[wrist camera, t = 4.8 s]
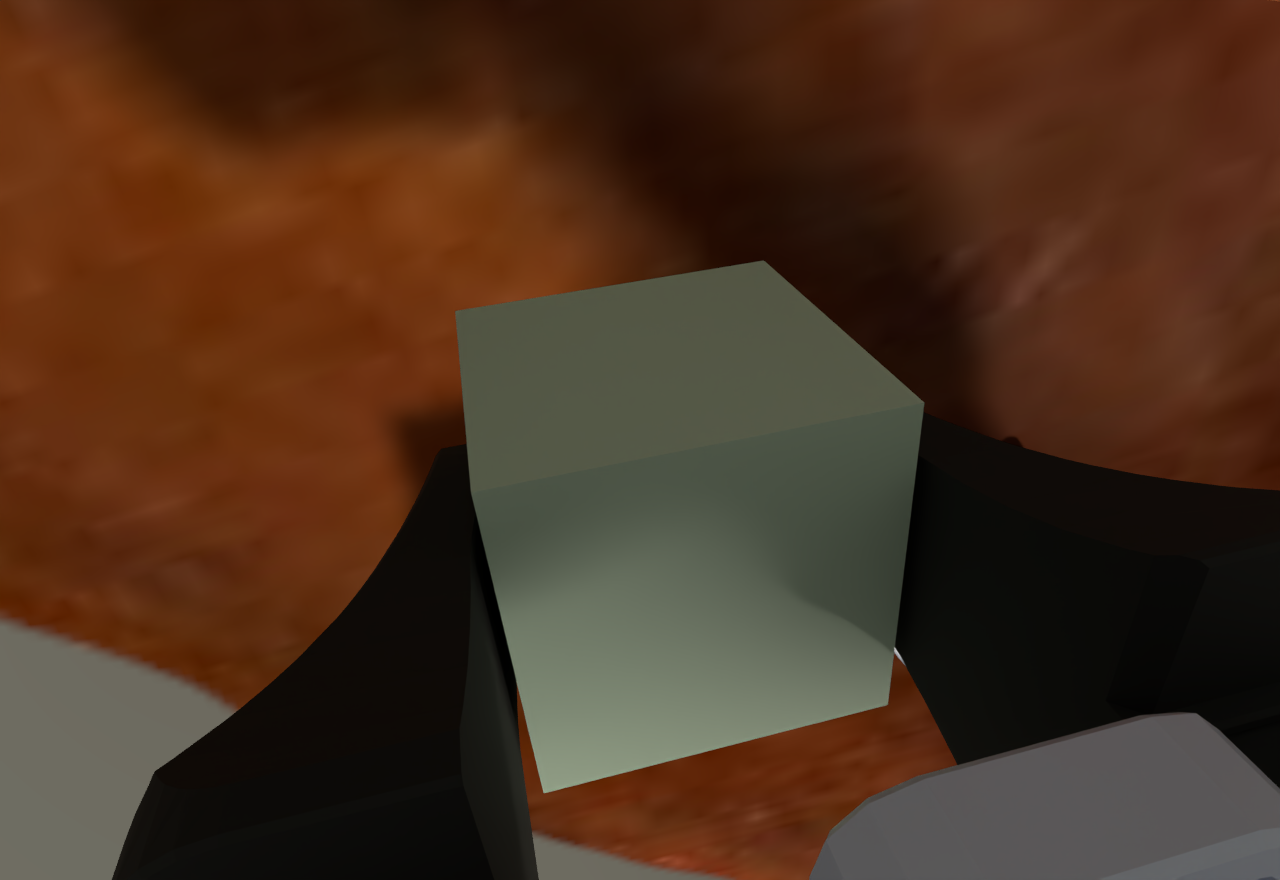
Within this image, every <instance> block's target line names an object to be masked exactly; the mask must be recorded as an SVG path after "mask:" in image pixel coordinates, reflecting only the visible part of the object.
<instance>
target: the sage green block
mask: <svg viewBox="0 0 1280 880" xmlns="http://www.w3.org/2000/svg"><path fill="white" fill-rule="evenodd" d="M455 313H456V324H457V336H458V347H459V359H460V371H461V382H462V394H463V406H464V417H465V429H466V440H467V452H468V464H469V475H470V487H471V495H472V499H473V503H474V507H475V511H476V515H477V519H478V524H479V528H480V532H481V536H482V540H483V544H484V548H485V552H486V557H487V561H488V565H489V569H490V573H491V577H492V581H493V586H494V590H495V594H496V598H497V602H498V606H499V610H500V614H501V619H502V623H503V627H504V631H505V635H506V639H507V643H508V648H509V652H510V656H511V660H512V664H513V668H514V672H515V676H516V681H517V685H518V689H519V693H520V697H521V701H522V705H523V710H524V714H525V718H526V722H527V726H528V730H529V734H530V738H531V743H532V747H533V751H534V755H535V759H536V763H537V767H538V771H539V776H540V780H541V784H542V788H543V792H544V793H547V792H551V791H555V790H558V789H562V788H566V787H570V786H574V785H578V784H582V783H586V782H589V781H593V780H597V779H601V778H605V777H609V776H613V775H617V774H621V773H624V772H628V771H632V770H636V769H640V768H644V767H648V766H652V765H656V764H659V763H663V762H667V761H671V760H675V759H679V758H683V757H687V756H691V755H694V754H698V753H702V752H706V751H710V750H714V749H718V748H722V747H725V746H729V745H733V744H737V743H741V742H745V741H749V740H753V739H757V738H760V737H764V736H768V735H772V734H776V733H780V732H784V731H788V730H792V729H795V728H799V727H803V726H807V725H811V724H815V723H819V722H823V721H826V720H830V719H834V718H838V717H842V716H846V715H850V714H854V713H858V712H861V711H865V710H869V709H873V708H877V707H881V706H885V705H888V698H889V689H890V681H891V673H892V665H893V656H894V648H895V640H896V632H897V624H898V615H899V607H900V599H901V591H902V582H903V574H904V566H905V558H906V549H907V541H908V533H909V525H910V517H911V508H912V500H913V492H914V484H915V475H916V467H917V459H918V451H919V443H920V434H921V426H922V418H923V410H924V402H923V401H922V400H921V399H920V398H919V397H917V396H916V395H915V394H914V393H913V392H912V391H911V390H910V389H908V388H907V387H906V386H905V385H904V384H903V383H902V382H901V381H899V380H898V379H897V378H896V377H895V376H894V375H893V374H891V373H890V372H889V371H888V370H887V369H886V368H885V367H884V366H882V365H881V364H880V363H879V362H878V361H877V360H876V359H875V358H873V357H872V356H871V355H870V354H869V353H868V352H867V351H866V350H864V349H863V348H862V347H861V346H860V345H859V344H858V343H856V342H855V341H854V340H853V339H852V338H851V337H850V336H849V335H847V334H846V333H845V332H844V331H843V330H842V329H841V328H840V327H838V326H837V325H836V324H835V323H834V322H833V321H832V320H830V319H829V318H828V317H827V316H826V315H825V314H824V313H823V312H821V311H820V310H819V309H818V308H817V307H816V306H815V305H814V304H812V303H811V302H810V301H809V300H808V299H807V298H806V297H805V296H803V295H802V294H801V293H800V292H799V291H798V290H797V289H795V288H794V287H793V286H792V285H791V284H790V283H789V282H788V281H786V280H785V279H784V278H783V277H782V276H781V275H780V274H779V273H777V272H776V271H775V270H774V269H773V268H772V267H771V266H770V265H768V264H767V263H766V262H765V261H758V262H752V263H746V264H740V265H733V266H727V267H721V268H715V269H709V270H703V271H697V272H691V273H685V274H679V275H673V276H666V277H660V278H654V279H648V280H642V281H636V282H630V283H624V284H618V285H612V286H605V287H599V288H593V289H587V290H581V291H575V292H569V293H563V294H557V295H551V296H545V297H538V298H532V299H526V300H520V301H514V302H508V303H502V304H496V305H490V306H484V307H478V308H471V309H465V310H459V311H455Z"/></svg>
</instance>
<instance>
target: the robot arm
mask: <svg viewBox="0 0 1280 880" xmlns="http://www.w3.org/2000/svg"><path fill="white" fill-rule="evenodd" d="M894 653H895V654H896V655H897V657H898V658H899V659H900V660H901V661H902V662H903V663H904V665H905V666H906V667H907V669H908V671H909V673H910V675H911V676H912V678H913V680H914V682H915V684H916V686H917V687H918V689H919V691H920V693H921V695H922V697H923V698H924V700H925V702H926V704H927V706H928V708H929V710H930V712H931V714H932V716H933V718H934V719H935V721H936V723H937V725H938V727H939V729H940V731H941V733H942V735H943V737H944V739H945V741H946V743H947V745H948V747H949V749H950V751H951V753H952V755H953V757H954V759H955V761H956V763H957V766H953V767H949V768H946V769H942V770H938V771H935V772H931V773H927V774H924V775H920V776H917V777H914V778H912V779H910V780H908V781H905V782H903V783H901V784H899V785H896V786H894V787H892V788H889V789H887V790H885V791H883V792H880V793H878V794H876V795H874V796H871V797H869V798H867V799H866V800H865V801H864V802H863V803H861V804H860V805H859V806H858V807H857V808H856V809H855V810H853V811H852V812H851V813H850V814H849V815H848V816H846V817H845V818H844V819H843V820H842V821H841V822H839V823H838V824H837V825H836V826H835V827H834V828H833V829H831V830H830V832H829V834H828V837H827V839H826V841H825V843H824V846H823V848H822V850H821V852H820V854H819V857H818V859H817V861H816V863H815V866H814V868H813V870H812V873H811V875H810V880H1280V491H1279V490H1264V489H1250V488H1236V487H1226V486H1218V485H1210V484H1202V483H1194V482H1186V481H1178V480H1170V479H1164V478H1158V477H1151V476H1145V475H1139V474H1133V473H1128V472H1123V471H1118V470H1113V469H1108V468H1103V467H1098V466H1093V465H1088V464H1084V463H1079V462H1075V461H1071V460H1066V459H1062V458H1059V457H1055V456H1051V455H1048V454H1044V453H1040V452H1037V451H1033V450H1029V449H1026V448H1022V447H1019V446H1015V445H1012V444H1009V443H1006V442H1003V441H999V440H996V439H994V438H991V437H988V436H985V435H982V434H979V433H977V432H974V431H971V430H968V429H965V428H962V427H960V426H957V425H954V424H952V423H949V422H947V421H944V420H941V419H939V418H936V417H934V416H931V415H929V414H926V413H924V412H923V418H922V426H921V434H920V443H919V451H918V459H917V467H916V475H915V484H914V492H913V500H912V508H911V517H910V525H909V533H908V541H907V549H906V558H905V566H904V574H903V582H902V591H901V599H900V607H899V615H898V624H897V632H896V640H895V648H894ZM112 880H539V879H538V872H537V865H536V858H535V851H534V844H533V837H532V830H531V823H530V816H529V809H528V802H527V795H526V788H525V781H524V773H523V766H522V759H521V752H520V741H519V729H518V711H517V683H516V676H515V672H514V668H513V664H512V660H511V656H510V652H509V648H508V643H507V639H506V635H505V631H504V627H503V623H502V619H501V614H500V610H499V606H498V602H497V598H496V594H495V590H494V586H493V581H492V577H491V573H490V569H489V565H488V561H487V557H486V552H485V548H484V544H483V540H482V536H481V532H480V528H479V524H478V519H477V515H476V511H475V507H474V503H473V499H472V495H471V487H470V475H469V464H468V452H467V444H464V445H459V446H453V447H448V448H443V449H441V450H440V451H439V453H438V454H437V455H436V457H435V459H434V462H433V465H432V467H431V469H430V472H429V474H428V476H427V479H426V481H425V483H424V485H423V487H422V489H421V491H420V493H419V495H418V497H417V499H416V501H415V503H414V505H413V507H412V509H411V511H410V512H409V514H408V516H407V518H406V520H405V522H404V523H403V525H402V527H401V529H400V531H399V532H398V534H397V536H396V537H395V539H394V540H393V542H392V543H391V545H390V547H389V548H388V550H387V551H386V553H385V554H384V556H383V558H382V559H381V561H380V562H379V564H378V565H377V567H376V568H375V570H374V571H373V573H372V574H371V575H370V577H369V578H368V580H367V581H366V582H365V584H364V585H363V586H362V588H361V589H360V590H359V592H358V593H357V594H356V596H355V597H354V598H353V599H352V601H351V602H350V603H349V604H348V605H347V607H346V608H345V609H344V610H343V612H342V613H341V614H340V615H339V616H338V617H337V619H336V620H335V621H334V622H333V623H332V624H331V625H330V626H329V627H328V628H327V629H326V630H325V631H324V632H323V633H322V634H321V635H320V636H319V637H318V638H317V639H316V640H315V641H314V642H313V643H312V644H311V645H310V646H309V647H308V649H307V650H306V651H305V652H304V653H303V654H302V655H301V656H300V657H299V658H298V659H297V660H296V661H295V662H294V663H292V664H291V665H290V666H289V667H288V668H287V669H286V670H285V671H284V672H283V673H281V674H280V675H279V676H278V677H277V678H276V679H275V680H274V681H273V682H271V683H270V684H269V685H268V686H267V687H266V688H264V689H263V690H262V691H261V692H260V693H259V694H257V695H256V696H255V697H254V698H253V699H251V700H250V701H249V702H248V703H247V704H245V705H244V706H243V707H242V708H241V709H239V710H238V711H237V712H236V713H234V714H233V715H232V716H230V717H229V718H228V719H227V720H225V721H224V722H223V723H221V724H220V725H219V726H217V727H216V728H214V729H213V730H212V731H210V733H208V734H206V735H205V736H204V737H202V738H201V739H200V740H198V741H197V742H195V743H194V744H193V745H191V746H190V747H189V748H187V749H186V750H184V751H183V752H182V753H181V754H179V755H178V756H176V757H175V758H174V759H172V760H171V761H169V762H168V763H166V764H165V765H164V766H162V767H160V768H159V769H158V770H156V771H155V772H154V774H153V776H152V779H151V781H150V784H149V786H148V788H147V790H146V792H145V794H144V797H143V799H142V801H141V803H140V805H139V807H138V809H137V811H136V814H135V816H134V819H133V821H132V824H131V826H130V829H129V832H128V835H127V837H126V840H125V842H124V845H123V849H122V851H121V854H120V857H119V860H118V863H117V866H116V870H115V872H114V875H113V878H112Z"/></svg>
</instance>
